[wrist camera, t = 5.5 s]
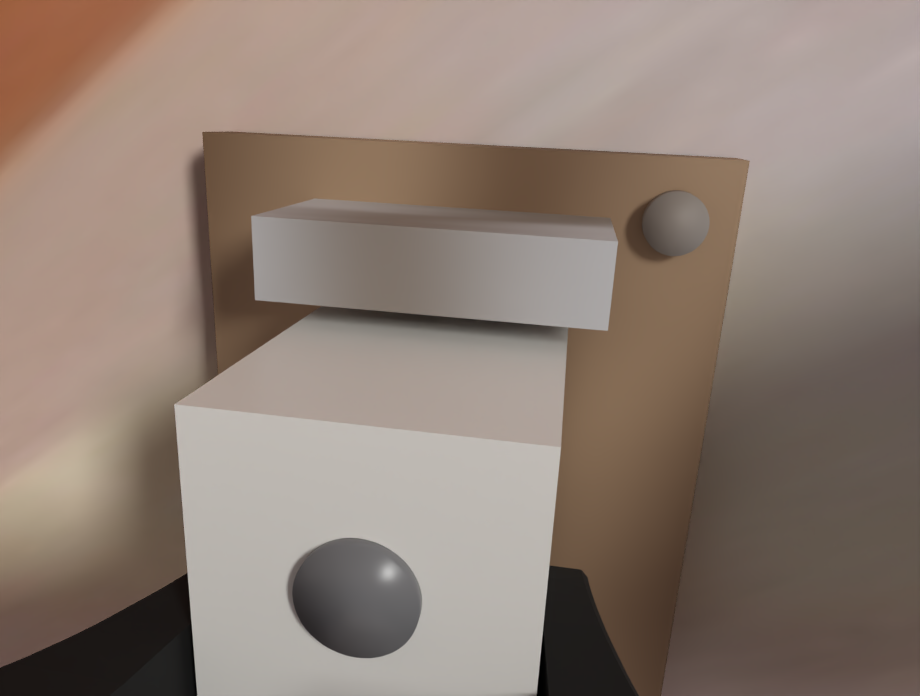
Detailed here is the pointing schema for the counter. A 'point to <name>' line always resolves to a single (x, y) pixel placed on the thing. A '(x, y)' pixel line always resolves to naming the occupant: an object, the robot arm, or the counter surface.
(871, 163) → the counter surface
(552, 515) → the power strip block
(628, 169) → the mounting bracket
